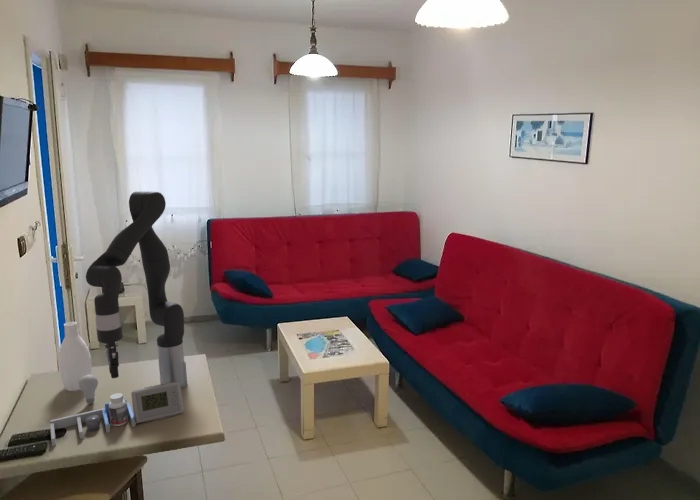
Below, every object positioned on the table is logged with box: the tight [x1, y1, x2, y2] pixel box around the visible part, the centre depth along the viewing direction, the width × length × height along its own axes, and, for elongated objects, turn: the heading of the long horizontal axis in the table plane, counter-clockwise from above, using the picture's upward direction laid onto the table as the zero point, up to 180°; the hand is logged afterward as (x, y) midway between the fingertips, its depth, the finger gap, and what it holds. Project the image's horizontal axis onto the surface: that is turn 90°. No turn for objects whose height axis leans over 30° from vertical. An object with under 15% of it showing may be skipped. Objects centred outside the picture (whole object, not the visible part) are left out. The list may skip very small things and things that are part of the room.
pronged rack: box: [49, 398, 136, 447], centre depth 180 cm, size 24×12×5 cm, turn 120°
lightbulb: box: [79, 374, 99, 405], centre depth 196 cm, size 6×6×11 cm
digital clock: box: [130, 382, 185, 424], centre depth 187 cm, size 16×9×11 cm, turn 106°
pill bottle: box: [108, 392, 129, 427], centre depth 183 cm, size 5×5×10 cm
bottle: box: [57, 321, 93, 392], centre depth 208 cm, size 11×11×25 cm
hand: (114, 374), depth 180 cm, fingers open, 3 cm apart
